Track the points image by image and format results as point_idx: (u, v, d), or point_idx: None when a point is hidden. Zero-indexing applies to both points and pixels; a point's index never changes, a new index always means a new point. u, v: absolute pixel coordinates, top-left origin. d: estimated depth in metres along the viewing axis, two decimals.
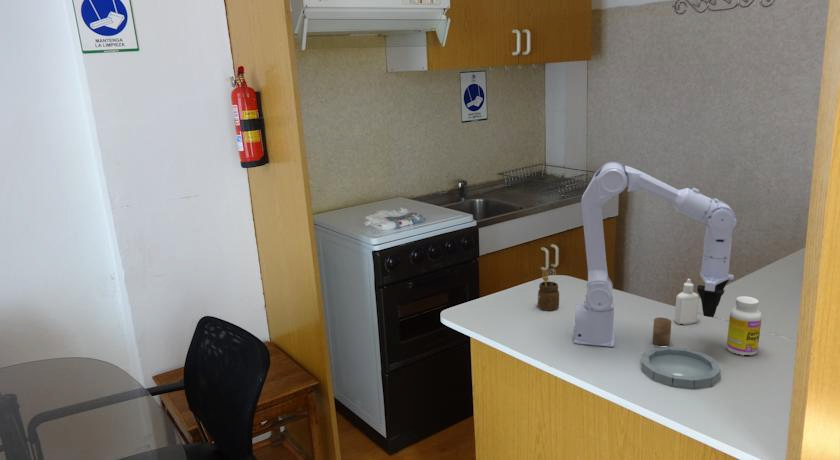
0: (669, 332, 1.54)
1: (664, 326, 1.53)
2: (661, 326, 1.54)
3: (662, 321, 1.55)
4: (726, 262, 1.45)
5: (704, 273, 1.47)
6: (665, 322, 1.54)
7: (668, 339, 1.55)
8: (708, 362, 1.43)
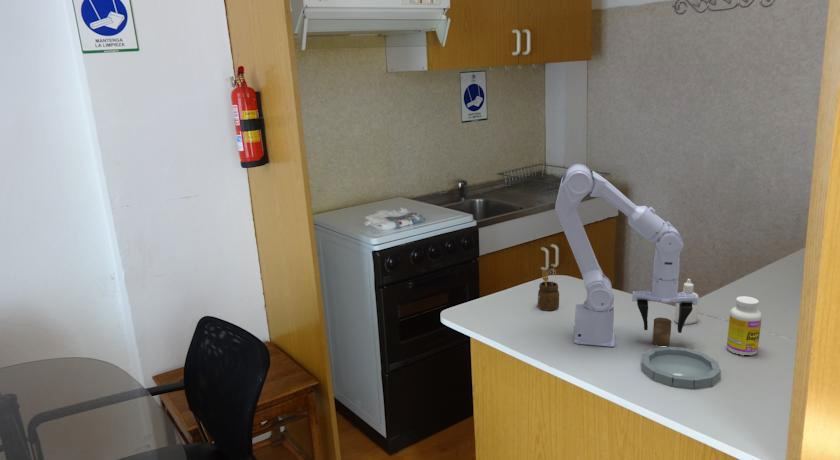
0: (669, 332, 1.54)
1: (664, 326, 1.53)
2: (661, 326, 1.54)
3: (662, 321, 1.55)
4: (659, 284, 1.51)
5: None
6: (665, 322, 1.54)
7: (668, 339, 1.55)
8: (708, 362, 1.43)
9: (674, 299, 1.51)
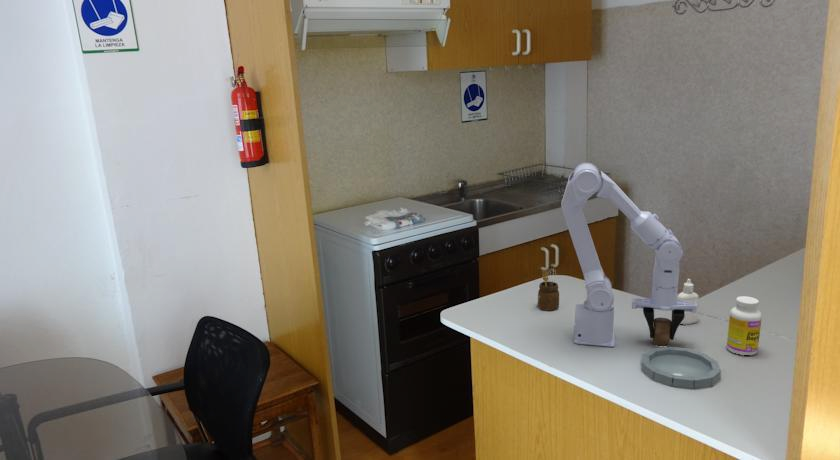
0: (669, 332, 1.54)
1: (664, 326, 1.53)
2: (661, 326, 1.54)
3: (662, 321, 1.55)
4: (659, 292, 1.51)
5: None
6: (665, 322, 1.54)
7: (668, 339, 1.55)
8: (708, 362, 1.43)
9: (673, 307, 1.51)
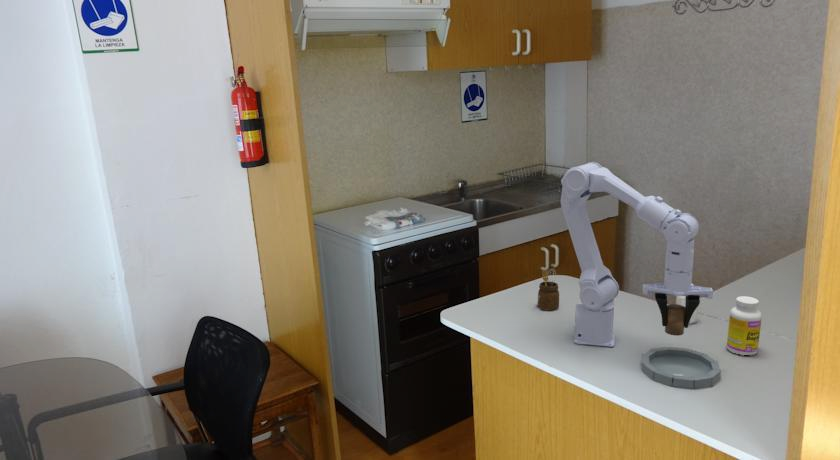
0: (683, 319, 1.44)
1: (678, 312, 1.43)
2: (675, 313, 1.44)
3: (675, 308, 1.45)
4: (672, 276, 1.41)
5: None
6: (679, 309, 1.44)
7: (682, 327, 1.45)
8: (708, 362, 1.43)
9: (688, 292, 1.41)
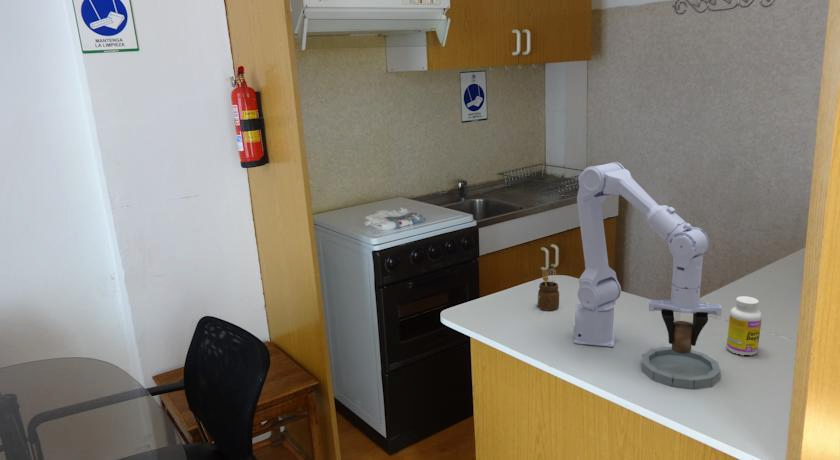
0: (690, 337, 1.39)
1: (686, 330, 1.38)
2: (682, 331, 1.38)
3: (682, 325, 1.39)
4: (679, 292, 1.36)
5: None
6: (686, 326, 1.39)
7: (689, 345, 1.39)
8: (708, 362, 1.43)
9: (696, 309, 1.36)
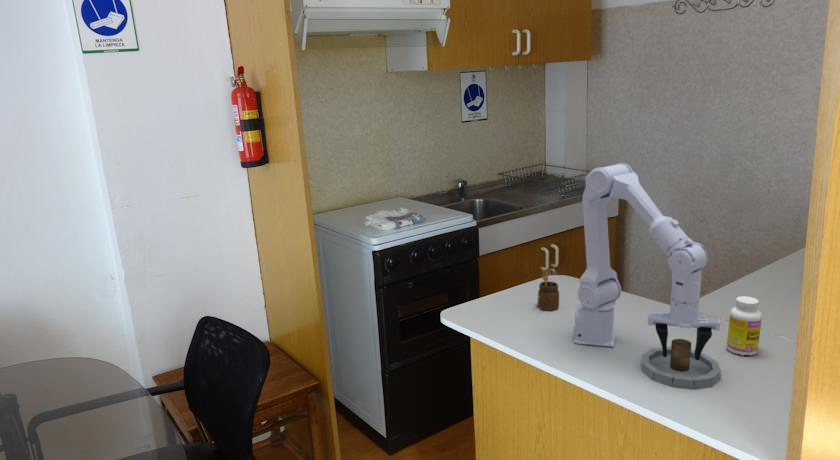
0: (689, 355, 1.40)
1: (684, 348, 1.39)
2: (680, 349, 1.40)
3: (681, 343, 1.41)
4: (678, 307, 1.37)
5: None
6: (684, 344, 1.40)
7: (688, 363, 1.41)
8: (708, 362, 1.43)
9: (694, 324, 1.37)
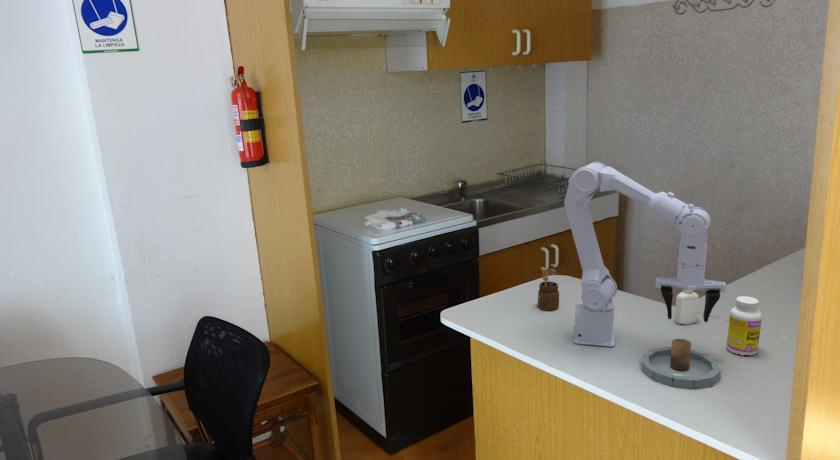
0: (689, 355, 1.40)
1: (684, 348, 1.39)
2: (680, 349, 1.40)
3: (681, 343, 1.41)
4: (685, 269, 1.42)
5: None
6: (684, 344, 1.40)
7: (688, 363, 1.41)
8: (708, 362, 1.43)
9: (701, 286, 1.42)
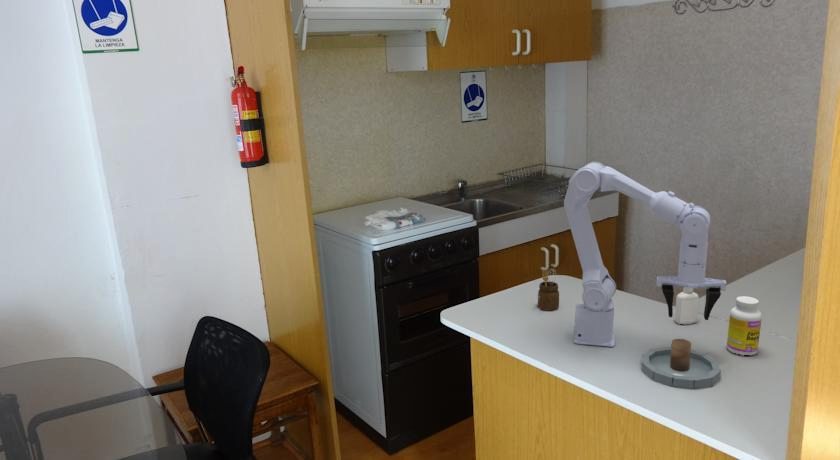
0: (689, 355, 1.40)
1: (684, 348, 1.39)
2: (680, 349, 1.40)
3: (680, 343, 1.41)
4: (686, 268, 1.43)
5: None
6: (684, 344, 1.40)
7: (688, 363, 1.41)
8: (708, 362, 1.43)
9: (701, 284, 1.43)
